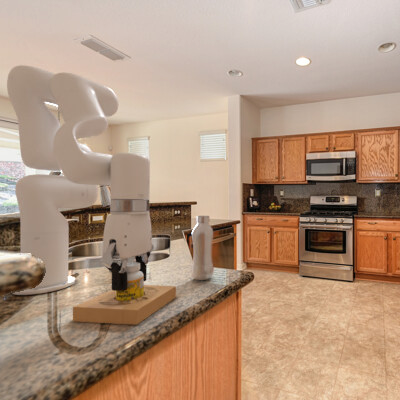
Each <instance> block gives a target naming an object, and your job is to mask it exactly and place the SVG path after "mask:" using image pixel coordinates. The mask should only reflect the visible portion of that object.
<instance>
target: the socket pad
mask: <svg viewBox="0 0 400 400" xmlns="http://www.w3.org/2000/svg"><path fill="white" fill-rule="evenodd" d="M176 294H177V286H176V285H156V284H155V285H154V284H144V295H143V296H142V297H139V298H136V299H132V300H126V301H117V300H116V291H113V290H112V289H110V290H108V291H106V292H103V293H102V294H99V295H97V296H95V297H93V298H90V299H87V300H85V301H83V302H81V303H79V304H76V305H74V306H72V322H80V323H82V322H83V323H96V324H97V323H98V324H113V325H114V324H116V325H135V326H137V325H138V324H140V323H141V322H143V321H144V320H146V319H147V318H148V317H151V315H154V313H156V312H157V311H158V310H160V309H161V308H163V307H164V306H166V305H167V304H169V303H170V302H172V301H173V300H175V299H176V298H177V295H176Z"/></svg>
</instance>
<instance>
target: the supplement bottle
mask: <svg viewBox="0 0 400 400" xmlns="http://www.w3.org/2000/svg"><path fill="white" fill-rule="evenodd" d="M139 270H140V263H138V262H134V261H132V262H127V265H126V269H125V272H127V290H125V291H116V300H117V301H126V300H132V299H136V298H139V297H142V296H143V295H144V285H145V281H144V274H143V273H142V272H141V271H139Z"/></svg>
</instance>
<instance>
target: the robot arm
mask: <svg viewBox="0 0 400 400" xmlns="http://www.w3.org/2000/svg"><path fill="white" fill-rule="evenodd" d="M6 79H7V80H6V89H7V96H8V98H9V101H10V104H11V106H12V108H13V111H14V113H15V115H16V118H17V123H18V136H19V137H18V139H19V149H20V150H19V151H20V158H21V161H22V163H23V164H24V166H25V167H27V168H29V169H32V170H38V171H45V172H55V173H62V175H56V174H44V173H43V174H42V173H41V174H38V173H36V174H29V175H25V176H23V177H20V179H18V181H16V184H15V187H14V189H15V190H14V192H15V196H16V201H17V206H18V210H19V220H20V221H19V222H20V254H21V253H31V254H32V255H34V256H36V257H38V258H39V259H41V260H42V261H43V262H44V264H45V268H46V273H45V276H44V278H43V280H42V282H41V283H40V284H39V285H38V286H36V287H35V288H32V289H27V290H24V291H20V292H15V293H12V295H16V296H31V295H40V294H45V293H52V292H55V291H60V290H62V289H65V288H68V287H71V286H73V285H74V284H76V277H75V276H71V275H70V276H69V249H70V248H69V246H70V245H69V243H70V240H69V239H70V237H69V236H70V235H69V234H70V233H69V232H70V229H69V227H70V226H69V222H68V220H67V218H66V217H65V216H64V215H63V214H62V213H61V212H60V209H83V208H89V207H92V206H94V204H96V202H97V199H98V195H99V189H98V187H99V186H105V187H110V190H109V191H110V192H109V195H110V197H109V199H110V200H109V201H110V207H109V209H110V211H109V213H108V214H107V216H106V218H105V223H104V229H103V236H102V250H101V251H102V252H101V253H102V256H101V258H100V260H99V263H100V264H102V265H103V266H104V267H105V268H106V269H107V270H108V272H109V273H110V274H111V290H113V291H125V290H127V272H125V269H126V265H127V263H128V260H129V259H131V258H133V262H138V263H140V270H139V271H141V272H142V273H143V274H144V282H146V281H147V265H148V264H149V257H150V256H151V253H152V252H153V250H154V248H155V247H154V246H155V245H154V244H153V234H152V233H153V231H152V222H151V221H152V220H151V213H150V194H151V193H150V190H151V189H150V187H151V186H150V181H151V180H150V178H151V175H150V174H151V171H150V170H151V161H150V159H149V158H148V156H146V155H144V154H140V153H136V152H135V153H134V152H116V153H113V154H110V153H103V152H96V151H92V149H91V148H90V147H89V146H87V145H85V144H83V143H80V142H79V140H85V139H91V138H94V137H98V136H100V135H102V134H103V133H105V132H106V131H107V129H108V128H109V121H108V119H107V117H112V116H114V115H115V114H117V112H118V109H119V99H118V96H117V94H116V93H115V91H113V89H111V88H110V87H108V86H107V85H104V84H101V83H99V82H97V81H94V80H91V79H90V78H87V77H83V76H80V75H78V74H75V73H72V72H57V73H53V72H52V71H49V70H46V69H42V68H39V67H35V66H31V65H22V64H21V65H16V66H13V67H12V68H11V69H10V71H9V72H8V75H7V78H6ZM46 104H49V105H53V106H56V107H57V108H58V110H59V113H60V115H61V117H62V119H63V122H64V123H63V124H62V125H61V122H60V121H59V118H58V117H57V116H56V115H55V114H54V112H53V111H52V110H51V109H50V108H49V107H48V106H47V105H46ZM119 262H120V263H119Z"/></svg>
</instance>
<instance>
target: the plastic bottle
mask: <svg viewBox="0 0 400 400" xmlns="http://www.w3.org/2000/svg"><path fill="white" fill-rule="evenodd" d="M210 221H211V220H210V215H196V221H195V222H196V225H195V226H194V227H193V229H192V231H191V239H192V248H193V259H192V266H191V277H192V278H193V280H197V281H205V280H209V279H211V278H213V275H214V271H215V269H214V263H213V254H212V253H213V242H214V241H213V240H214V233H215V232H214V229H213V227H212V226H211V225H210Z"/></svg>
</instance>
